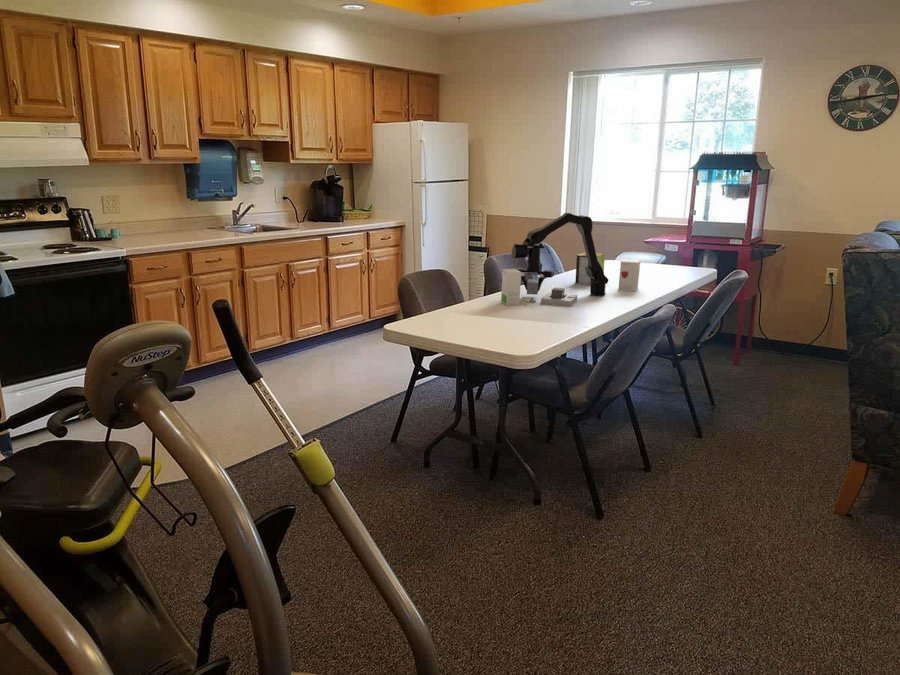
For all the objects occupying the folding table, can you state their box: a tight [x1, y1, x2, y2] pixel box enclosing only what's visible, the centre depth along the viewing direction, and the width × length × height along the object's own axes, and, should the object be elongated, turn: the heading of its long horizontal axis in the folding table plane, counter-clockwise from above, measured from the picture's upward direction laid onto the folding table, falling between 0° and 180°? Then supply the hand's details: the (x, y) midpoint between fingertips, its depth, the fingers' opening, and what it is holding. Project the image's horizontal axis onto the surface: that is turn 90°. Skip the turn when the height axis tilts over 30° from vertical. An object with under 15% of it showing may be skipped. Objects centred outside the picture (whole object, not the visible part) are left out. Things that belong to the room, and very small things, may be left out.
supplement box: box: [618, 258, 641, 292], centre depth 329 cm, size 9×9×15 cm
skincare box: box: [500, 268, 522, 307], centre depth 296 cm, size 8×7×16 cm
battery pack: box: [526, 278, 539, 296], centre depth 308 cm, size 5×9×6 cm, turn 170°
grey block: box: [551, 287, 565, 298], centre depth 302 cm, size 5×5×7 cm
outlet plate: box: [540, 292, 578, 307], centre depth 301 cm, size 14×14×3 cm
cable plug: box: [524, 296, 537, 303], centre depth 302 cm, size 5×3×2 cm, turn 68°
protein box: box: [574, 251, 606, 286], centre depth 348 cm, size 10×15×16 cm
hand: (532, 290), depth 309 cm, fingers closed on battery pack, 5 cm apart
